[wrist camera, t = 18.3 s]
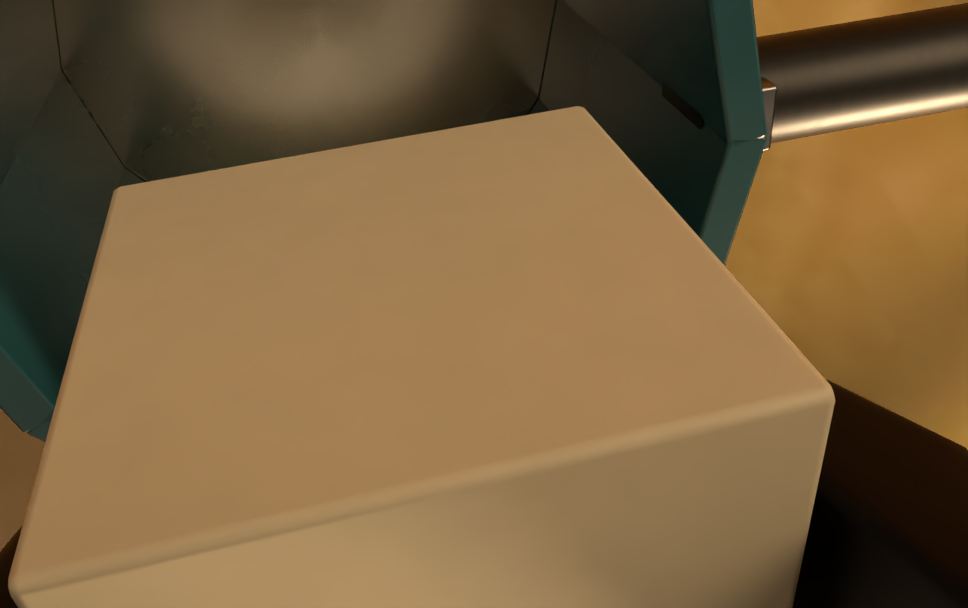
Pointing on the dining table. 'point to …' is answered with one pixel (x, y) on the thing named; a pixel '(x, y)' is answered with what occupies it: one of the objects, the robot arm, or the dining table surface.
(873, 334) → the dining table surface
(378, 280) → the block
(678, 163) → the saucepan
